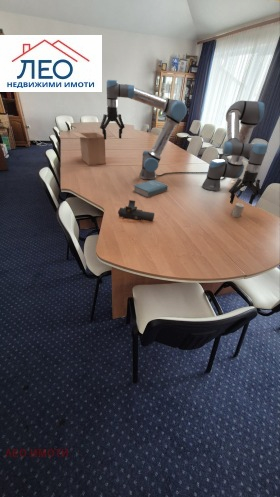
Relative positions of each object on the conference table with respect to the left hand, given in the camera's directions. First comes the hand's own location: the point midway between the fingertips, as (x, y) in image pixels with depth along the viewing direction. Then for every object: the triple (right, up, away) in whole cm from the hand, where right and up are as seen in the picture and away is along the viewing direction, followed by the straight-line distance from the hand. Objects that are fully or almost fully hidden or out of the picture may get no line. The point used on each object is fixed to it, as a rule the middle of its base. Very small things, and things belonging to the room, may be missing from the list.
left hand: (112, 138), depth 173 cm
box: (-29, +8, +64) cm, 71 cm away
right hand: (+89, -56, -25) cm, 108 cm away
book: (+30, -40, +6) cm, 50 cm away
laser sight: (+19, -67, -32) cm, 77 cm away
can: (+88, -63, -19) cm, 110 cm away
